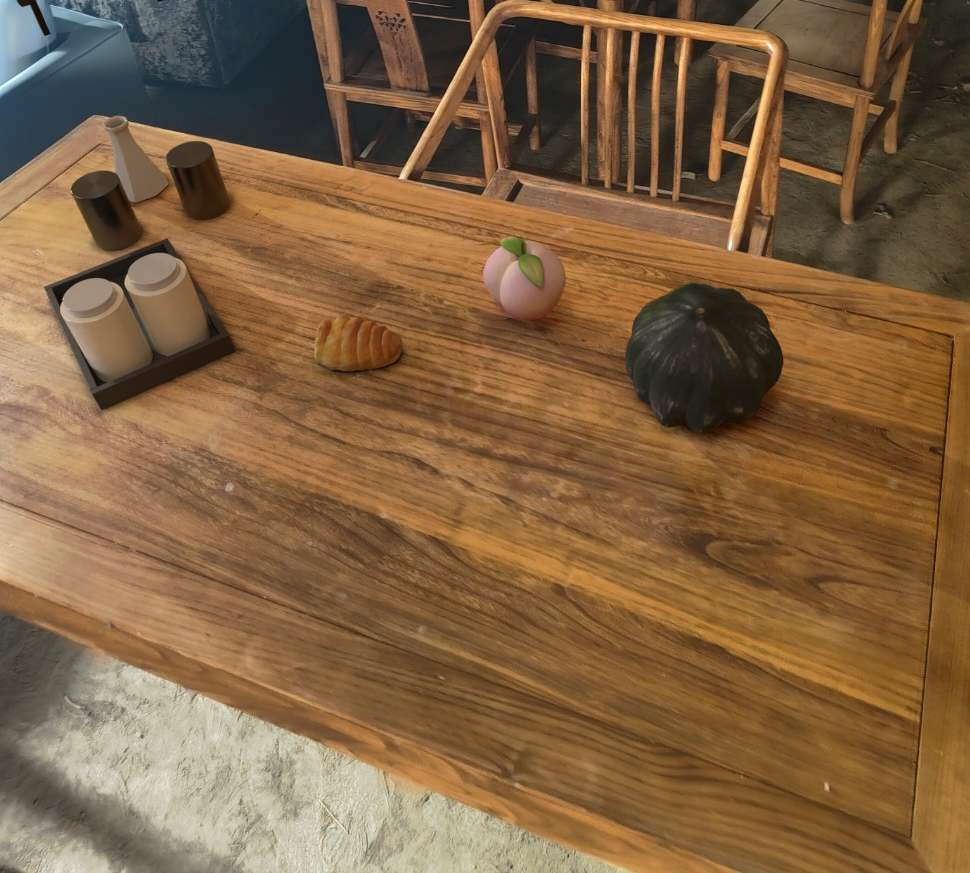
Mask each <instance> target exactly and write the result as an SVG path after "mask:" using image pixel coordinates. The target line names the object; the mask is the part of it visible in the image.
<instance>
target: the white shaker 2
mask: <svg viewBox="0 0 970 873" xmlns="http://www.w3.org/2000/svg"><path fill="white" fill-rule="evenodd" d="M181 260H182V259H181ZM181 260H179V259H177V258H174V257H173V256H171V255H169V254H166V253H154V254H149V255H146V256H144V257H142V258H140V259H138V260H137V261H135V262H134V263H133V264H132V265H131V266H130V268H129V270H128V274H127V276H126V278H125V287H126V289H127V291H128V293H129V295H130V297H131V300H132V302H133V304H134V306H135V308H136V310H137V312H138V314H139V316H140V318H141V320H142V322H143V325H144V327H145V329H146V331H147V333H148V335H149V337H150V339H151V341H152V343H153V345H154V347H155V349H156V350H157V351H158V352H159V353H160V354H162V355H165V356H170V355H173V354H175V353H177V352H179V351H182V350H184V349H186V348H189V347H191V346H193V345H196V344H198V343H200V342H203V341H205V340H207V339H209V338H210V335H211V327H210V325H209V322H208V320H207V317H206V315H205V312H204V310H203V307H202V305H201V302H200V300H199V298H198V295H197V293H196V290H195V288H194V285H193V283H192V280H191V278H190V275H189V273H190V272H189V273H188V271H189V270H188V268H187V266H186V263H185V262H184V261H183V260H182V261H181ZM187 270H188V271H187Z"/></svg>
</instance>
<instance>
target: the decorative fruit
mask: <svg viewBox="0 0 970 873" xmlns="http://www.w3.org/2000/svg"><path fill="white" fill-rule="evenodd" d="M499 243H500V247H498V248H497V249H496V250H494V252H492V253H491V255H490V256H489V257H488V259H487V260H486V263H485V264H484V267H483V272H482V278H483V283H484V286H485V288H486V289H487V291H488V293H489V295H490V297H491V298H492V300H493V301H494V303H496V304H497V305H498V306H499V307H500V308H501V309H503V310H504V311H505V312H506V314H508V315H509V316H510V317H512V318H514V319H517V320H520V321H527V322H530V321H536V320H539V319H542V318H544V317H546V316H547V315H549V314H550V313H551V312H552V311H553V310H554V308H556V306H557V304H558V303H559V301H560V300H561V298H562V296H563V293H564V290H565V287H566V281H567V280H566V279H567V277H566V276H567V275H566V270H565V267H564V264H563V262H562V261H561V259H560V257H559V256H558V255H557V254H556V253H555V252H554V251H553V250H551V248H549V247H548V246H546V245H545V244H542V243H540V242H537V241H533V240H524V239H523V238H519V237H517V236H507V237H503V238H502V239H500V241H499Z"/></svg>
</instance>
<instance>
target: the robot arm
mask: <svg viewBox="0 0 970 873" xmlns="http://www.w3.org/2000/svg"><path fill="white" fill-rule="evenodd" d="M16 2H17V4H18V5H19V6H20V7H21V8H24V7H28V6H30V9H31V12H32V13H33V15H34V17H35V20H36V22H37V24H38V26H39V29H40V30H41V32H42V34H43V36H44V37H46V36H50V35H51V34H52V33H51V31H50V29H49V26H48V25H47V22H46V19H45V17H44V15H43V12H42V10H41V8H40V5H39V4H38V1H37V0H16ZM156 2H157V3H160V2H165V0H156Z"/></svg>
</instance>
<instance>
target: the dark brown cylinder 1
mask: <svg viewBox="0 0 970 873" xmlns="http://www.w3.org/2000/svg"><path fill="white" fill-rule="evenodd" d="M70 194H71V196H72V198H73V200H74V202H75V204H76V206H77V208H78V210H79V212H80V214H81V216H82V218H83V220H84V223H85V224H86V227H87V228H88V231H89V233H90V235H91V237H92V239H93V241H94V242H95V245H96V246H97V247H98V248H99V249H100V250H103V251H109V252H114V251H120V250H124V249H127V248H129V247H131V246H132V245H134V244H136V242H138V240H140V238H141V236H142V235H143V229H142V226H141V224H140V222H139V219H138V217H137V215H136V213H135V210H134V208H133V206H132V204H131V201H129V199H128V197H127V194H126V192H125V190H124V187H123V185H122V183H121V181H120V178H119V176H118V175H117V174H116V173H114V171H112V170H106V169H105V170H96V171H91V172H88V173H85V174H83V175H82V176H80V177H78V178H77V179H76V180H74V182H73V183H72V184H71V186H70Z"/></svg>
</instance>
